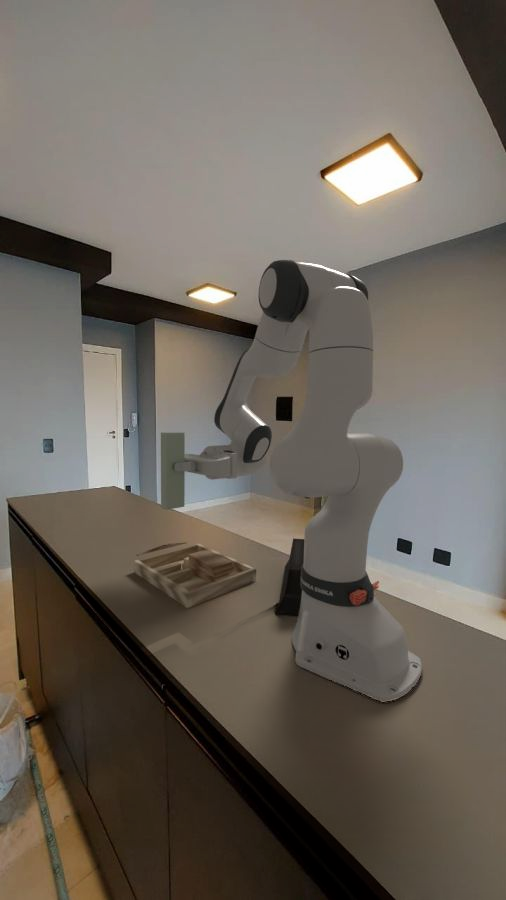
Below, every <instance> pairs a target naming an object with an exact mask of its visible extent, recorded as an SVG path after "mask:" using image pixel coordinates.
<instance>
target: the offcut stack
mask: <svg viewBox="0 0 506 900" xmlns="http://www.w3.org/2000/svg"><path fill="white" fill-rule="evenodd" d="M186 568H190V569H191V573H192V574H193V575H195V576H197V577H199V578H201V579H203V580H204V581H206V582H208V583H213V582H215V581H218V580H221V579H224V578H226V577H229V576H232V575H235V574H237V572H235V571H234V565H232V562H231V561H229V560H227V559H225V558H223V557H221V556H219V555H217V554H215V553H213V552H211V551H209V550H204V551H200V552H196V553H192V554H189V557H187V558H184V563H182V569H186Z"/></svg>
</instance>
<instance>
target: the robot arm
mask: <svg viewBox="0 0 506 900" xmlns="http://www.w3.org/2000/svg"><path fill="white" fill-rule="evenodd" d="M258 303H259V307H260V309H261V310H262V314H261V317H260V318H259V319H260V320H259V321H258V324H257V328H256V332H255V335H254V339H253V342H252V344H251V346H250V348H248V349H246V350H245V351H244V352H243V353H242V354H241V355H240V358H239V359H238V361H237V363H236V365H235V368H234V370H233V373H232V375H231V377H230V381H229V383H228V385H227V388H226V391H225V393H224V396H223V398H222V400H221V402H220V403H219V405H218V406H217V407H216V409H215V413H214V417H213V419H214V420H213V421H214V424H215V427H216V428H217V429H219V430H220V431H221V432H222V433H223V434H225V435H226V437H228V438H229V440H230V441H231V442H230V443H229V444H228V445H227V444H224V445H222V444H221V445H207V446H206V447H205V448H204V449H203V451H202V452H201V453H200V454H195V453H185V463H173V464H172V466H173V467H172V469H173V470H174V471H185V472H186V473H191V474H197V475H202V476H204V477H206V478H207V479H208V480H212V481H213V480H220V479H222V480H223V479H228V480H229V479H237V478H238V477H244V476H250V475H253V474H256V473H258V472H260V471H261V470H263V469H264V468H265V466H266V464H267V462H268V461H267V460H268V454H267V452H268V451H269V448H270V446H271V443H272V437H273V436H272V435H273V434H272V433H273V432H272V429H271V427H270V426H269V425H268V424H266V422H265V421H263V420H262V419H261V418H260V417H259V416H258V415H257V414H255V412H253V411H252V409H250V407H249V406H248V403H247V398H248V396H249V393H250V392H251V389H252V387H253V384H254V382H255V380H256V379H257V378H262V379H279V378H282V377H285V376H287V375H289V374H290V373H291V372H292V371H293V370H294V368H295V367H296V365H297V363H298V360H299V358H300V355H301V352H302V348H303V345H304V343H305V340H306V336H307V334H309V335H308V336H309V337H308V349H307V350H308V352H307V354H308V355H307V356H308V357H307V358H308V359H307V363H308V364H307V380H306V381H307V382H306V383H307V386H306V396H305V400H304V405H303V407H302V411H301V413H300V415H299V418H298V419H297V421H296V423H295V425H294V426H293V428H292V429H291V430H290V431H289V432H288V433H287V434H286V435H285V436H284V437H282V439H280V440H279V441H278V442H277V444H276V445H275V447H273V450H272V453H271V456H270V460H269V461H270V462H269V468H270V469H269V470H270V475H271V478H272V480H273V482H274V484H275V485H276V487H277V488H278V489H279V491H280V492H281V493H283V494H284V495H290V496H293V497H294V496H295V497H301V498H308V499H309V498H311V499H312V498H322V497H323V498H324V497H327V499H326V501H325V503H324V505H323V507H321V509H320V511H318V512H317V513H315V515H314V516H313V517H311V518H310V519H309V520H308V521H307V524H306V526H305V528H304V537H303V539H304V564H303V565H302V567H301V578H300V586H301V589H302V595H301V604H300V610H299V615H298V617H297V620H296V624H295V628H294V631H293V633H292V636H291V643H292V646H293V648H294V651H295V658H294V661H295V664H296V665H297V666H298V667H300V668H303V669H304V670H307V671H309V672H311V673H314V674H316V675H318V676H320V677H323V678H325V679H326V680H330V681H331V680H332V682H334V683H336V682H337V683H336V684H338V683H340V684H342V685H344V686H343V687H345V686H347V687H349V688H352V689H355V690H357V691H359V692H361V693H364V694H366V695H369V696H372V697H373V698H376V699H378V700H382V701H386V700H390V699H394V698H397V697H400V696H401V695H403V694H405V693H406V692H408V691H409V690H411V688H412V687H414V686H415V685H416V686H417V684H418V683H419V682H418V680H419V678H420V676H421V677H422V674H421V673H423V668H422V667H423V666H422V665H423V664H422V660H421V658H420V657H419V656H417V655H416V654H414V653H413V652H411V651H409V646H408V639H407V635H406V631H405V630H404V628H403V626H402V625H401V624H400V623H399V622H398V621H397V620H396V619H395V618H394V617H393V616H392V615H391V613H390V612H389V611H388V610H387V608H385V607H384V605H383V604H381V602H380V601H379V600H378V599H377V598H376V597H375V593H374V592H375V591H376V590H377V589H378V588H379V587H380V586H379V583H380V581H379V580H377V581H375V582H373V583H372V582H371V581H370V578H369V574H368V572H367V571H366V570H367V569H366V568H367V554H368V541H369V534H370V529H371V526H372V523H373V519H374V517H375V515H376V512H377V510H378V507H379V506H380V504H381V502H382V500H383V498H384V497H385V495H386V494H387V492H388V491H389V490H390V489H391V488H392V487H393V486H394V485H395V484H396V483H397V482H398V481H399V480H400V478H401V476H402V473H403V471H404V458H403V454H402V452H401V449H400V448H399V446H398V444H397V443H396V442H395V441H393V440H392V439H390V438H387V437H383V436H380V435H377V434H372V433H349V432H348V431H349V426H350V423H351V420H352V418H353V416H354V415H355V414H356V412H357V411H358V410H360V409H361V408H363V407H364V406H365V405H367V404H368V402H369V401H370V400H371V398H372V395H373V375H374V374H373V373H374V372H373V371H374V367H373V366H374V335H373V334H374V333H373V331H374V330H373V322H372V321H373V320H372V315H371V309H370V305H369V292H368V288H367V285H366V283H364V282H363V281H362V280H361V279H359V278H357V277H356V276H354V275H352V274H349V273H347V274H346V273H342V272H340V271H337V270H334V269H331V268H328V267H325V266H323V265H321V264H316V263H315V264H314V263H309V262H308V263H307V262H296V261H294V260H293V259H279V260H275V261H272V262H271V263H270V264H269V265H268V266H267V267H266V268H265V269H264V271H263V273H262V275H261V278H260V281H259V287H258ZM308 332H309V333H308ZM420 679H421V678H420ZM419 681H420V680H419ZM417 682H418V683H417ZM416 683H417V684H416ZM340 684H339V685H340ZM342 685H341V686H342ZM416 686H415V687H416ZM347 687H346V688H347ZM415 687H414V688H415ZM349 688H348V689H349ZM391 690H392V691H394V692H392V691H391ZM411 691H412V690H411Z"/></svg>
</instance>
